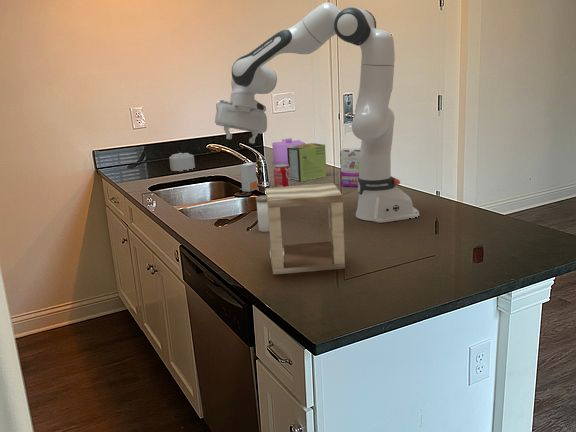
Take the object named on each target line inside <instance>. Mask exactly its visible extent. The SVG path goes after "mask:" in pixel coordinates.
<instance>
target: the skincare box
mask: <svg viewBox="0 0 576 432" xmlns="http://www.w3.org/2000/svg"><path fill="white" fill-rule="evenodd" d="M256 166H257V165H256V162H246V163H243V164H240V177H241V178H240V179H241V191H242V192H248V193H250V192H253V191H255V190H258V182H257V181H258V180H257V168H256Z"/></svg>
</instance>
